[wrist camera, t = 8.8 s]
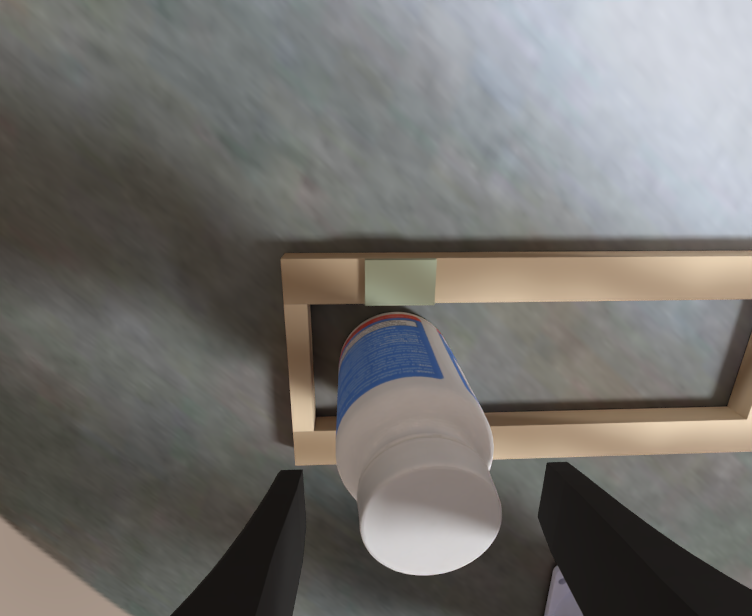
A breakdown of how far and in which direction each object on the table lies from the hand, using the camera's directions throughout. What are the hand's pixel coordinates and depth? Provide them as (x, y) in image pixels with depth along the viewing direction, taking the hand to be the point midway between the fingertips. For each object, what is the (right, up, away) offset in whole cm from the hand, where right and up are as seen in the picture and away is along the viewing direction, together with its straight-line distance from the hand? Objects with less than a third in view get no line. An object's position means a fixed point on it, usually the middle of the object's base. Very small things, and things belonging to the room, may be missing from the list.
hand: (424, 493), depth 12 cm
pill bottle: (-1, +3, +8) cm, 9 cm away
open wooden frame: (+6, +3, +9) cm, 11 cm away
